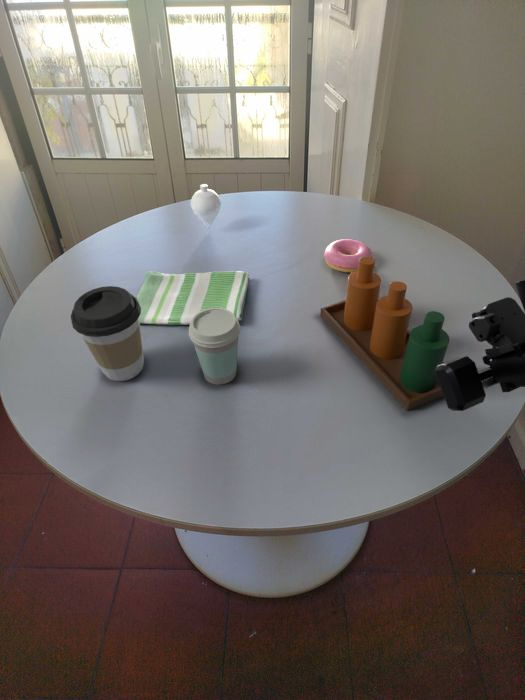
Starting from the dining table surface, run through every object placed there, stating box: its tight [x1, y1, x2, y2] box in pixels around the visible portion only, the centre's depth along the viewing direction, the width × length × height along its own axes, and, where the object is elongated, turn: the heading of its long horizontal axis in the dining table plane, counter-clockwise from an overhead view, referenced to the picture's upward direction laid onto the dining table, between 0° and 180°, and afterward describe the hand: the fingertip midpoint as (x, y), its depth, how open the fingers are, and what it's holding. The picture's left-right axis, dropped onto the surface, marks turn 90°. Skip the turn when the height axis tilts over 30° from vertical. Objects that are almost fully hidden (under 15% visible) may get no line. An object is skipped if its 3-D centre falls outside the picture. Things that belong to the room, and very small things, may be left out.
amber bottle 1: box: [344, 256, 382, 331], centre depth 88 cm, size 6×6×14 cm
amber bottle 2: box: [370, 280, 413, 359], centre depth 82 cm, size 6×6×14 cm
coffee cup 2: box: [188, 308, 241, 386], centre depth 80 cm, size 8×8×12 cm
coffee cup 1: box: [70, 285, 145, 382], centre depth 81 cm, size 11×11×15 cm
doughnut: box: [323, 238, 373, 273], centre depth 109 cm, size 11×11×4 cm
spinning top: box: [190, 183, 222, 230], centre depth 120 cm, size 8×8×12 cm
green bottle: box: [400, 310, 450, 393], centre depth 76 cm, size 6×6×14 cm
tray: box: [319, 299, 445, 412], centre depth 87 cm, size 28×11×2 cm, turn 25°
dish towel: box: [136, 270, 250, 326], centre depth 100 cm, size 18×23×3 cm
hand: (460, 369), depth 70 cm, fingers open, 9 cm apart
